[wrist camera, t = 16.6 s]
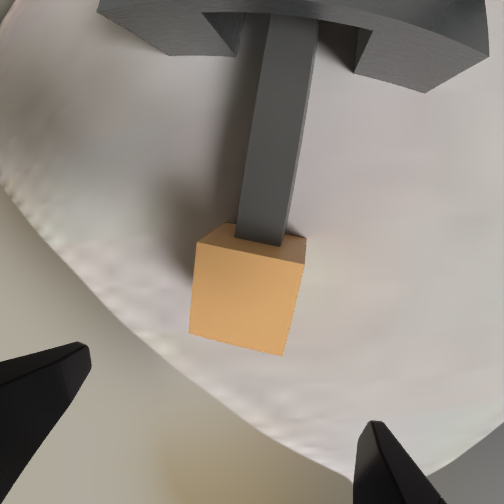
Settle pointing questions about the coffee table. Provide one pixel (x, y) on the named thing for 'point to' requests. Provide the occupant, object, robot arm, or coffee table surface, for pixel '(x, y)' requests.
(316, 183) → the coffee table surface
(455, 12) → the grey piece
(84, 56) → the coffee table surface
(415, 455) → the coffee table surface
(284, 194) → the plug
